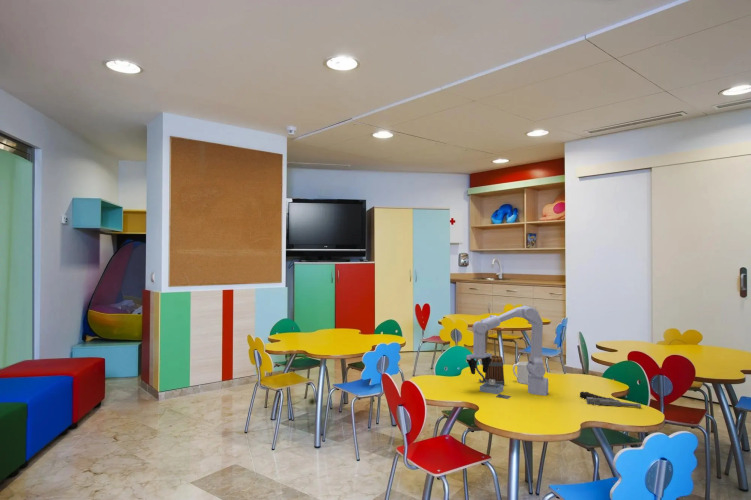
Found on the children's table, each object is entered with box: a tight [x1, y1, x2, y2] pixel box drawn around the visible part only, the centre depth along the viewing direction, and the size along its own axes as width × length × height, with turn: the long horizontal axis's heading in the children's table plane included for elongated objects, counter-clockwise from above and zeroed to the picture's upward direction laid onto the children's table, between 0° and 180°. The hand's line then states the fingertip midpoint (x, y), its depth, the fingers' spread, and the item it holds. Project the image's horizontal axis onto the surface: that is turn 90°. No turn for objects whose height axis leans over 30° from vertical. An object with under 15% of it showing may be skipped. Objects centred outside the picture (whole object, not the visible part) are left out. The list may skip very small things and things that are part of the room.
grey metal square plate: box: [495, 393, 512, 400], centre depth 219 cm, size 6×6×1 cm
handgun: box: [579, 391, 642, 408], centre depth 217 cm, size 3×24×15 cm
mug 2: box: [512, 361, 529, 386], centre depth 252 cm, size 13×10×10 cm
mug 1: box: [474, 354, 505, 386], centre depth 245 cm, size 16×11×15 cm
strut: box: [489, 379, 495, 388], centre depth 229 cm, size 4×4×6 cm
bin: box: [479, 382, 505, 395], centre depth 229 cm, size 9×9×4 cm
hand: (479, 373), depth 228 cm, fingers open, 7 cm apart
